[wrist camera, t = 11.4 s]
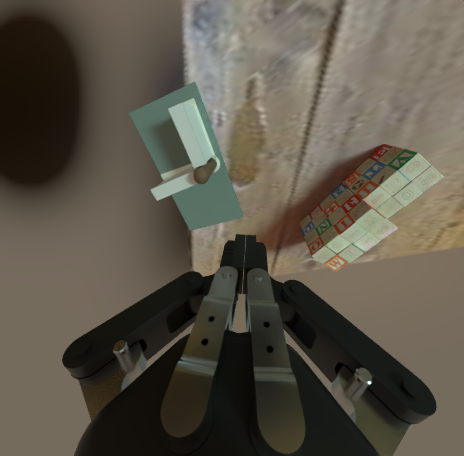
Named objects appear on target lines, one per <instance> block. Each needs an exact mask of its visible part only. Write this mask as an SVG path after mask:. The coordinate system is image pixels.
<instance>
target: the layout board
mask: <svg viewBox="0 0 464 456" xmlns="http://www.w3.org/2000/svg"><path fill="white" fill-rule="evenodd" d="M180 103H183V104H188V105H194V106H195V109H196V111H197V114H198V117H199V119H200V122H201V125H202V127H203V130H204V133H205V135H206V138H207V141H208V143H209V146H210V148H211V151H212V154H213V156H212V157H211V158H213V159H215V160H216V162H217V167H216V169H215V170H214V171H213V173H212V174H211V176H210V177H209V180H208V181H207V182H206V183H205V184H196V185H194V186H191V187H189V188H186V189H184V190H182V191H179V192H177V193H174V194H172V197H173V199H174V201H175V203H176V205H177V207H178V208H179V210H180V212H181V214H182V216H183V218H184V220H185V222H186V224H187V226H188V228H189V230H190V231H191V230H195V229H199V228H202V227H206V226H210V225H214V224H218V223H221V222H225V221H229V220H233V219H237V218H241V217H243V214H242V211H241V209H240V206H239V203H238V200H237V197H236V195H235V192H234V189H233V186H232V183H231V181H230V178H229V175H228V172H227V169H226V167H225V164H224V161H223V158H222V155H221V153H220V150H219V147H218V144H217V141H216V139H215V136H214V133H213V130H212V128H211V125H210V122H209V119H208V116H207V114H206V111H205V108H204V105H203V102H202V100H201V97H200V94H199V91H198V88H197V86H196V83H195V82H193V83H191V84H189V85H187V86H185V87H183V88H181V89H179V90H177V91H175V92H173V93H170V94H168V95H166V96H164V97H162V98H160V99H158V100H156V101H154V102H152V103H150V104H147V105H145V106H143V107H141V108H139V109H137V110H135V111H133V112H131V113H129V115H130V117H131V119H132V121H133V123H134V125H135V127H136V129H137V130H138V132H139V134H140V136H141V138H142V140H143V142H144V144H145V146H146V148H147V149H148V151H149V153H150V155H151V157H152V159H153V161H154V163H155V165H156V166H157V169H158V170H159V172H160V174H161V177H162V179H163V180H165V179H167V178H169V177H171V176H173V175H176V174H178V173H180V172H182V171H185V170H187V169H189V168H191V167H193V165H192V163H191V160H190V158H189V156H188V154H187V151H186V149H185V147H184V144H183V142H182V140H181V137H180V135H179V133H178V131H177V128H176V126H175V124H174V121H173V119H172V117H171V115H170V112H169V110H168V109H169V108H171V107H173V106H175V105H177V104H180Z"/></svg>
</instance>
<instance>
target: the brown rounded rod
mask: <svg viewBox="0 0 464 456" xmlns="http://www.w3.org/2000/svg"><path fill="white" fill-rule="evenodd" d="M216 167H217V162H216V160H215V159H213V158H210V159H209V160H208V161H207V163H206V164H204V165H202V166H200V167H199V168H198V169H197V170H195V172H194V174H193V177H194V180H195V181H196V182H197V183H198V184H205V183H206V182H207V181H208V180H209V177H210V176H211V174H212V173H213V171H214V170H215V169H216Z"/></svg>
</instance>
